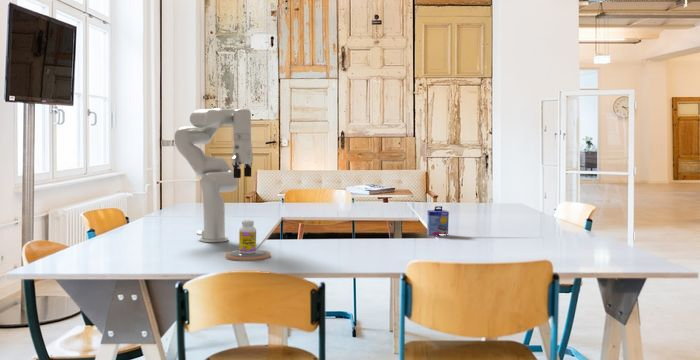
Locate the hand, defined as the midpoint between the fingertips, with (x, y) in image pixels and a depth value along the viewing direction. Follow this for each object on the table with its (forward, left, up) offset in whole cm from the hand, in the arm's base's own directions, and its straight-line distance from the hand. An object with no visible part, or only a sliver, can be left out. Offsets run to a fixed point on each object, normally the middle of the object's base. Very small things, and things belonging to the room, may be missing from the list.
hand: (242, 177), depth 279 cm
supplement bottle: (+13, -21, -29) cm, 38 cm away
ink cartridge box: (+75, +58, -31) cm, 100 cm away
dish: (+13, -21, -30) cm, 39 cm away
